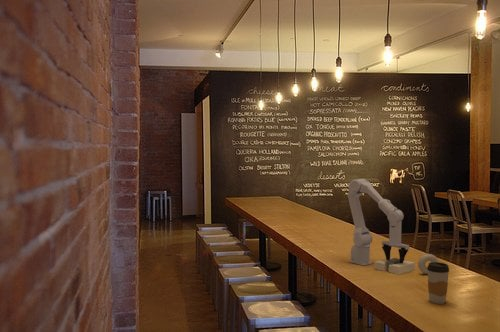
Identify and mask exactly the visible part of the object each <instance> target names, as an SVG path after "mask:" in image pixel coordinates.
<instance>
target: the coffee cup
mask: <svg viewBox="0 0 500 332" xmlns="http://www.w3.org/2000/svg"><path fill="white" fill-rule="evenodd" d="M427 267H428V268H427V270H428V274H427V287H428V288H427V289H428V290H427V291H428V300H429V302H431V303H433V304H437V305H438V304H439V305H443V304H445V303H446V302H447V293H448V286H449V285H448V284H449V273H450V267H449V264H447V263H443V262H431V261H430V262H429V263H428V264H427Z"/></svg>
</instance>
